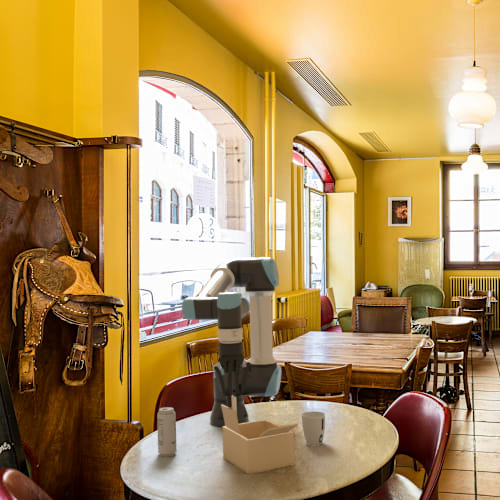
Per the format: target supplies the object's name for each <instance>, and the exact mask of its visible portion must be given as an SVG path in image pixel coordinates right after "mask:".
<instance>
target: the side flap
mask: <svg viewBox="0 0 500 500" xmlns="http://www.w3.org/2000/svg"><path fill="white" fill-rule="evenodd" d="M221 407H222V412H223V417H224V422H225V426H227V427H228V428H230V429H232V430H234V431H236V432H237V433H240V429H239V424H238V419H237V414H236V411H235V410H233V409H231V408H229V407H227V406H225V405H223V404H222V405H221Z"/></svg>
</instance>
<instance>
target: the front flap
mask: <svg viewBox="0 0 500 500" xmlns="http://www.w3.org/2000/svg"><path fill="white" fill-rule="evenodd" d="M280 426H281V427H275V428H270V429H267V430H266V431H264V432H263V433H261V434H260V435H259V437H262V436H268V435H273V434H279V433H285V432H289V431H290V430H291V431H293V429H295V428H296V427H298V426H299V424H298V423H293V424H288V425H283V426H282V425H280Z"/></svg>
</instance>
